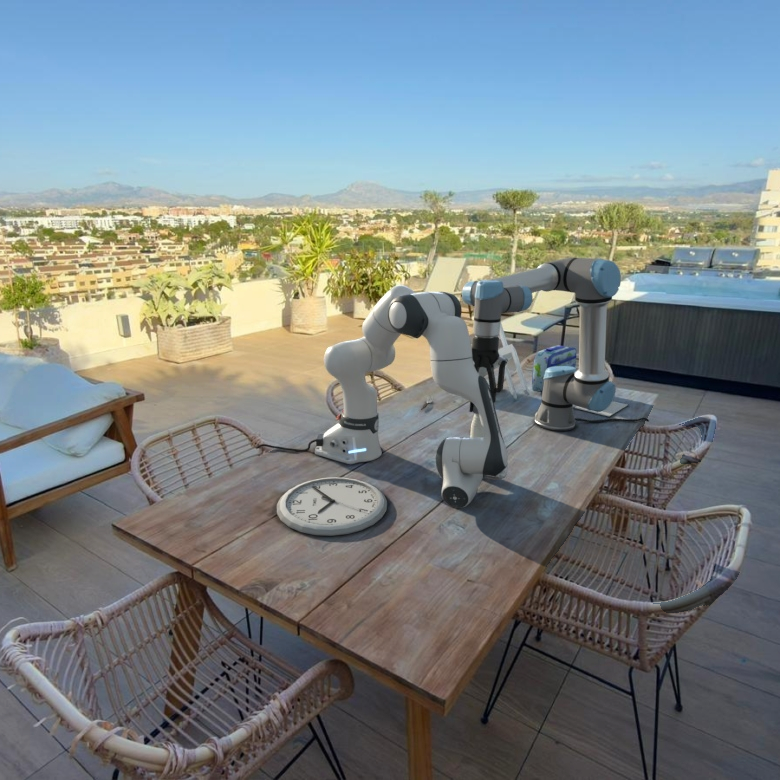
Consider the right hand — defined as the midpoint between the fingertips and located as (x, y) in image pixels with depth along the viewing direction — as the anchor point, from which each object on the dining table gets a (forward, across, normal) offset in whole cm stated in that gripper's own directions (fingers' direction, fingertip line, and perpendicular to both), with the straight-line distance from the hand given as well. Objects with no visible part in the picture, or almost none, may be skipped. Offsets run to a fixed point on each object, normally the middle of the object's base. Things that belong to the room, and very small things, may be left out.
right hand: (480, 411), depth 157 cm
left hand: (+14, 0, -1) cm, 14 cm away
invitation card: (+20, -30, -88) cm, 95 cm away
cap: (-2, 0, 0) cm, 2 cm away
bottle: (+20, 0, 0) cm, 20 cm away
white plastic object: (+20, +23, -82) cm, 88 cm away
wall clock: (+20, +29, +37) cm, 52 cm away
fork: (+20, +38, -53) cm, 68 cm away
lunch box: (+20, -7, -102) cm, 104 cm away
